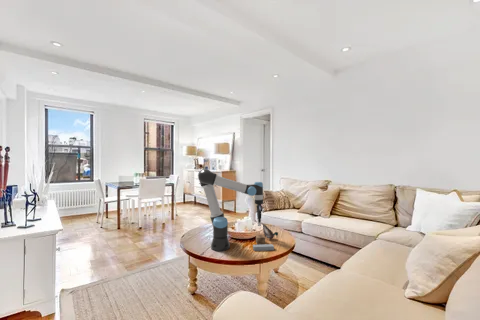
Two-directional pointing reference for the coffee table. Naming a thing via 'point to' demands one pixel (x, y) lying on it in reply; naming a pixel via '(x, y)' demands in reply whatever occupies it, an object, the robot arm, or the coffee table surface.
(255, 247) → the board
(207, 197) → the robot arm
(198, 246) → the coffee table surface
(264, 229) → the decorative duck model
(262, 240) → the walnut block
